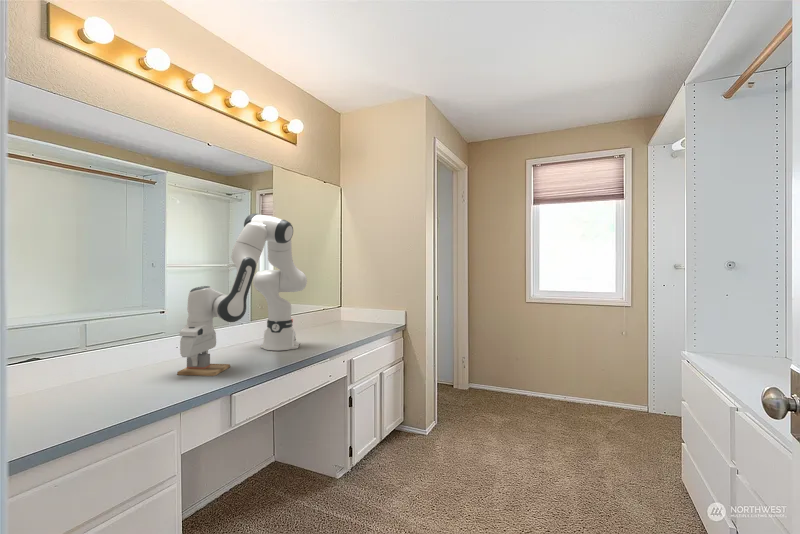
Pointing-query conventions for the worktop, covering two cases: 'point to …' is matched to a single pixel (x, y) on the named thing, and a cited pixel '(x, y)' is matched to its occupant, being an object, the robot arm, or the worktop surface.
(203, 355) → the sanding block
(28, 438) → the worktop surface
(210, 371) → the board
